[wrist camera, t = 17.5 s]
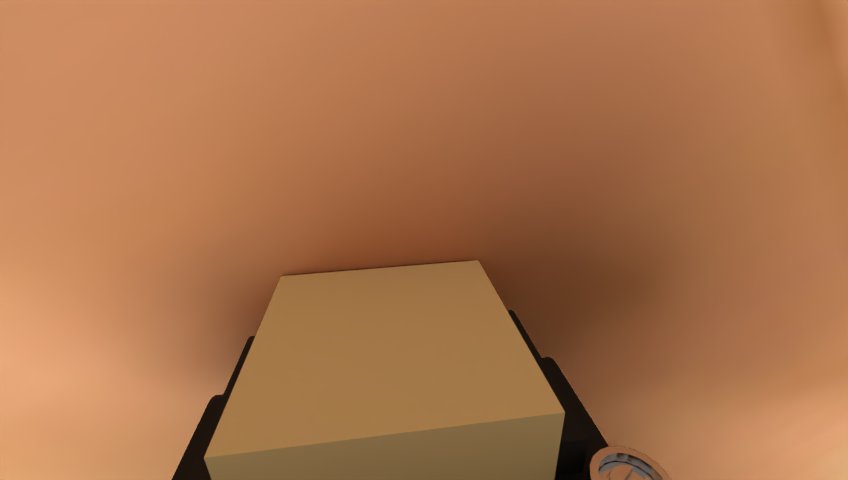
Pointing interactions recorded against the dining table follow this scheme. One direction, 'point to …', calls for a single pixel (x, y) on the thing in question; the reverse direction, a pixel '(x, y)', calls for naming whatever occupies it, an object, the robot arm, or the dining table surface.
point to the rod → (388, 384)
